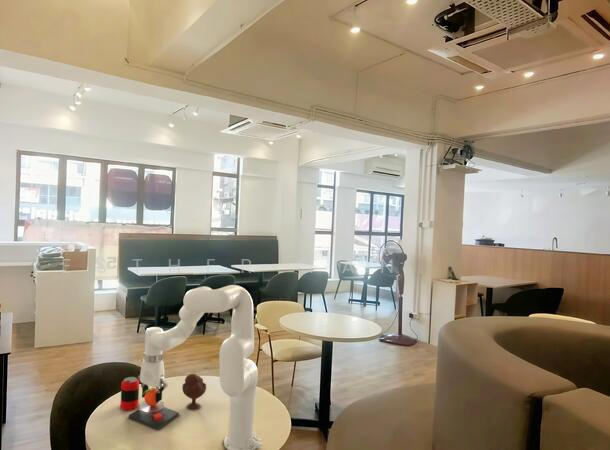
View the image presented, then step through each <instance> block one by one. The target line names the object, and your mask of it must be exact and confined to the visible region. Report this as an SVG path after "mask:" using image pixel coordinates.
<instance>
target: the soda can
mask: <svg viewBox="0 0 610 450" xmlns="http://www.w3.org/2000/svg"><path fill="white" fill-rule="evenodd" d="M120 387H121V388H120V389H121V390H120V408H121V410H123V411H133V410H136V409H138V405H139V398H140V397H139V396H140V381H139V379H138V377H136V376H128V377H125V378H123V380H122V382H121V385H120Z"/></svg>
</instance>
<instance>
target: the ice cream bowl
mask: <svg viewBox="0 0 610 450" xmlns="http://www.w3.org/2000/svg"><path fill="white" fill-rule="evenodd" d="M181 387H182V393H183V394H184V395H185V397H187V398H188V399H190V400H191V402H190V403H188V404H187V409H189V410H192V411H193V410H198V409H200V404H199V403H198V402H196V400H197V399H199V398H201V397H202V396H203V395H204V394H205V393H206V391H207V384H206V383H205V382H204V379H203V378H202V377H201V376H200V375H197V374H195V373H190V374H187V375H186V376H185V379H184V383H182V386H181Z"/></svg>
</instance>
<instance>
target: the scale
mask: <svg viewBox="0 0 610 450" xmlns="http://www.w3.org/2000/svg"><path fill="white" fill-rule="evenodd" d="M158 413H161V414H162V419H161V420H159V421H156V420H154V415H155V414H156V413H154V414H145V413H142V412H140V411H139V410H138V409H137V410H135V411H133V412H132V413H130V414H128V419H129V420H132V421H134V422H137V423H139V424H142V425H144V426H147V427H150V428H152V429H155V430H157V431H159V430H160V429H162V428H163V427H164V426H166V425H168V424H169V423H170V422H172V421H173V420H174V419H176V418H178V417H179V415H180V412H179V411H177V410H173V409H170V408H167V407H165V406H164V409H163V410H162V411H160V412H158Z"/></svg>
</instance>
